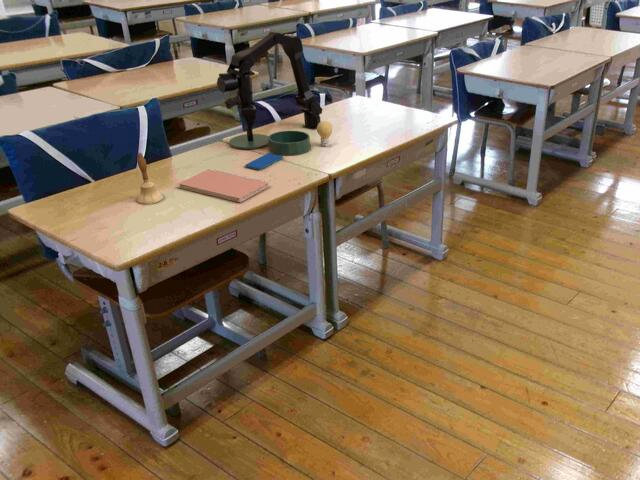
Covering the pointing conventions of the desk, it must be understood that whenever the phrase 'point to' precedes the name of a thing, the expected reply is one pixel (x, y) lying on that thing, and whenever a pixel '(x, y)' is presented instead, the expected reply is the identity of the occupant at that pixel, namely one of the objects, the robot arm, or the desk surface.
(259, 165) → the smartphone
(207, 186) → the notebook
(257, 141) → the tin lid
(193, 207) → the desk surface
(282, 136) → the tin
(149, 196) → the hand bell
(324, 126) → the light bulb
